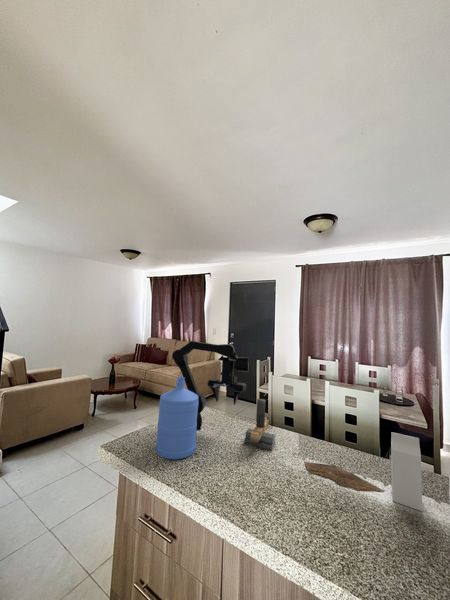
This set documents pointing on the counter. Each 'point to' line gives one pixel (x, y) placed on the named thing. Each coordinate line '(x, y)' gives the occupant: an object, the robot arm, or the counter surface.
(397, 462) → the milk carton
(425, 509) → the counter surface
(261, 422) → the tan grey t-shaped tool
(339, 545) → the counter surface
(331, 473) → the wooden fragment
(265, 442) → the ridge stand
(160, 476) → the counter surface
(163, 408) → the water jug
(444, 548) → the counter surface
